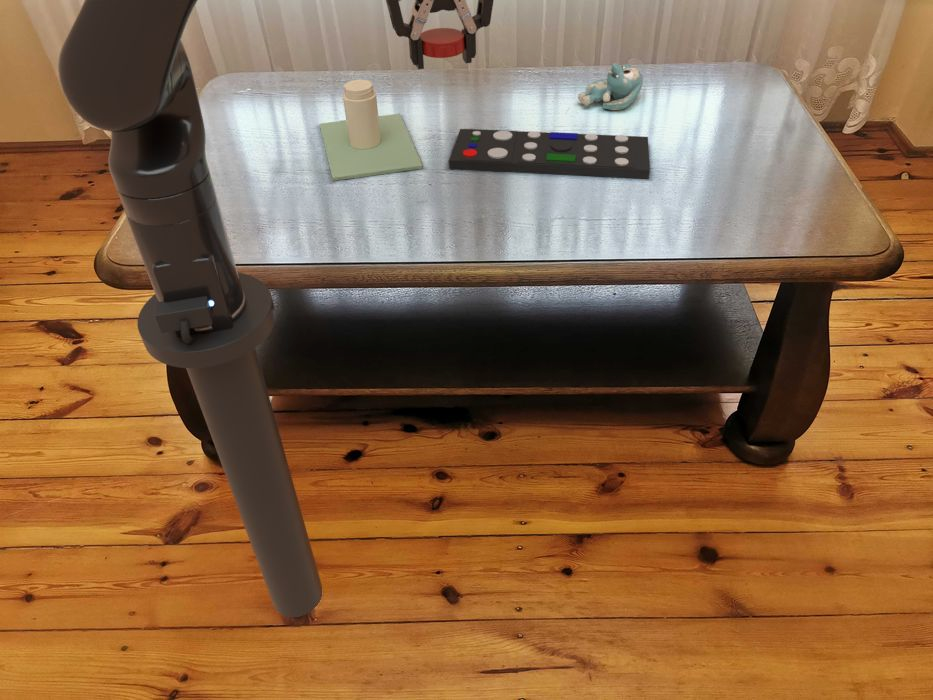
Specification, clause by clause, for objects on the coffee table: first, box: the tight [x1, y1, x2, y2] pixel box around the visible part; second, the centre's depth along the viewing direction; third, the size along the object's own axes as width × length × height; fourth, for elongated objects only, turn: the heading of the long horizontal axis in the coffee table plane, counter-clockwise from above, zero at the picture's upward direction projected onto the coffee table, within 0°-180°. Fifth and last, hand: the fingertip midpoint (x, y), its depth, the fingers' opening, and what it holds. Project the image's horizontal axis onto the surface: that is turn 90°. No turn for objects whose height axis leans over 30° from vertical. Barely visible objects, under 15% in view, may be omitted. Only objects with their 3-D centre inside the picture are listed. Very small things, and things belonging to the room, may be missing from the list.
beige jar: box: [342, 79, 381, 149], centre depth 119 cm, size 5×5×10 cm
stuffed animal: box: [577, 62, 644, 111], centre depth 131 cm, size 11×7×12 cm
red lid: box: [420, 27, 465, 59], centre depth 95 cm, size 6×6×2 cm
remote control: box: [448, 128, 651, 180], centre depth 117 cm, size 11×30×2 cm, turn 81°
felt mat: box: [319, 113, 424, 182], centre depth 122 cm, size 20×14×1 cm
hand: (443, 63), depth 97 cm, fingers closed on red lid, 5 cm apart
